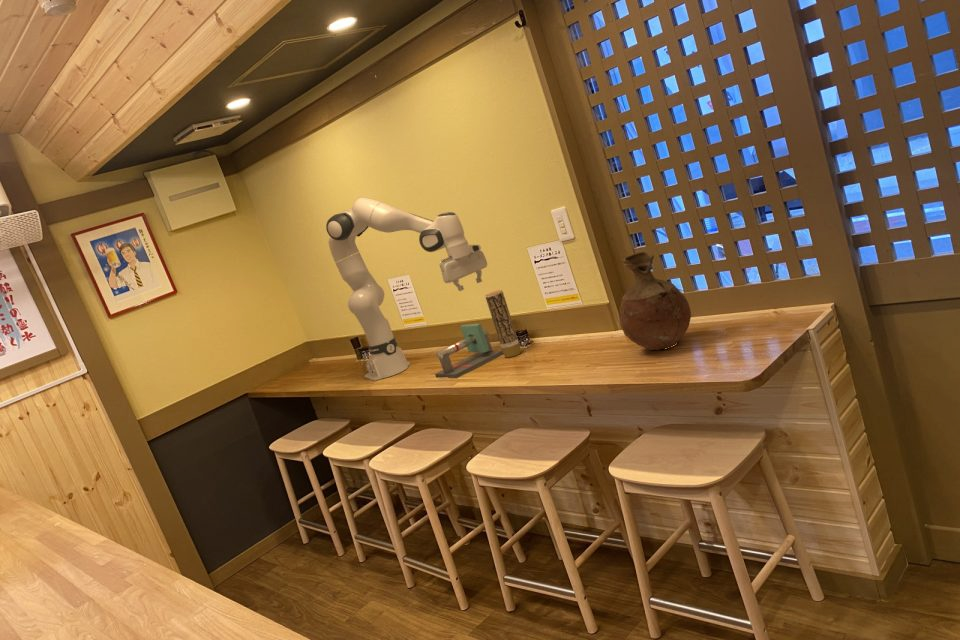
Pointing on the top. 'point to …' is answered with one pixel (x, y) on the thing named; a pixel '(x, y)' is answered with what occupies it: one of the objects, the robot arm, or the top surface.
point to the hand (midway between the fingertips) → (470, 286)
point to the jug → (652, 307)
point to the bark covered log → (503, 323)
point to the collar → (479, 335)
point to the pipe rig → (445, 353)
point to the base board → (470, 364)
